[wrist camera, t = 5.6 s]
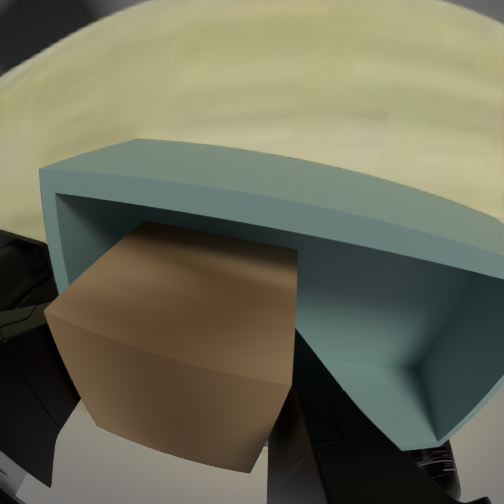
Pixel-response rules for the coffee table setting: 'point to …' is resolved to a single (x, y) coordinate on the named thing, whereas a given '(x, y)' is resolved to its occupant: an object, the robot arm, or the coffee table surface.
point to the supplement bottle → (438, 467)
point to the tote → (319, 265)
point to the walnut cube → (183, 341)
